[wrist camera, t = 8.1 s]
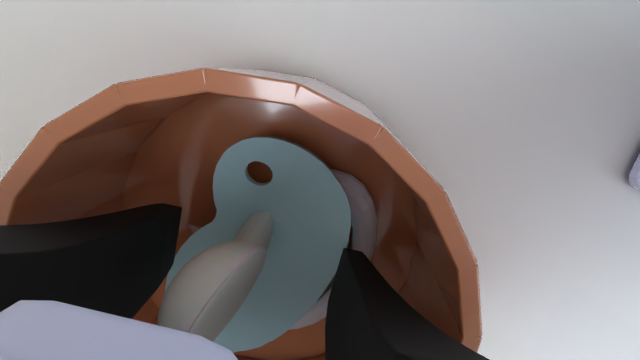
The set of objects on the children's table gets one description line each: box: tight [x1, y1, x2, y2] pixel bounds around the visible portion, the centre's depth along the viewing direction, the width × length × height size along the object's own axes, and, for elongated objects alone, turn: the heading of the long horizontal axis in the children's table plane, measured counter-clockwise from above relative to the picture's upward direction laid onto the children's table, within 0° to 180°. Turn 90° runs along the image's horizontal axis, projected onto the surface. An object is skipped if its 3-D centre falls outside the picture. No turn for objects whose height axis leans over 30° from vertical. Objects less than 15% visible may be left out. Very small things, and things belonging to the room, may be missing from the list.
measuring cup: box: [0, 68, 482, 360], centre depth 12 cm, size 15×11×6 cm
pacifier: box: [158, 136, 378, 352], centre depth 11 cm, size 7×6×6 cm
